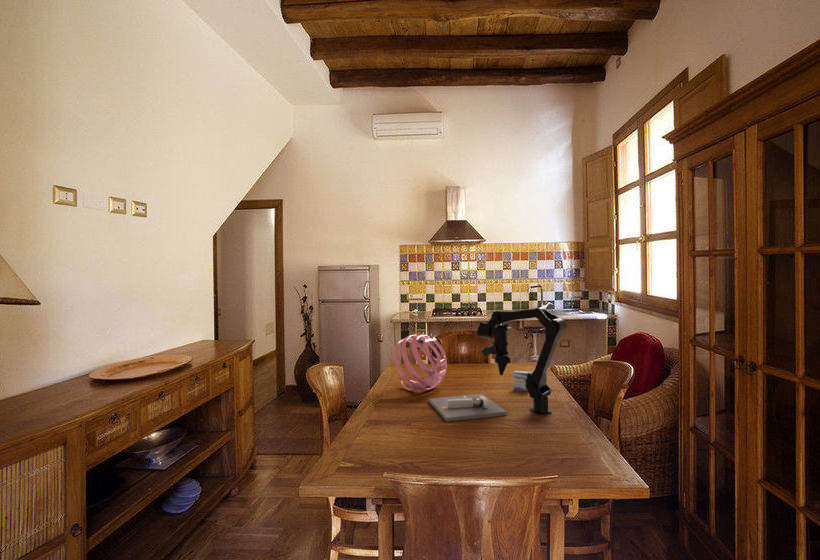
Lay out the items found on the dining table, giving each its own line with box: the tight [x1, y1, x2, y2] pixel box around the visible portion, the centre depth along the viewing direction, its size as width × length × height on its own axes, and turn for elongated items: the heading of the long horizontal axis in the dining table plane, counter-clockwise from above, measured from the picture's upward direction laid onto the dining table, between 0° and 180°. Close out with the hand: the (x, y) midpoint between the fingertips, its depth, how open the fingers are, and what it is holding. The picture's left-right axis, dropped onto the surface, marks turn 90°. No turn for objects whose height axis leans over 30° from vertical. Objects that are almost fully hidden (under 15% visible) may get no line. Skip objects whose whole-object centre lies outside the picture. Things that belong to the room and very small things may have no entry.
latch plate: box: [428, 393, 507, 422], centre depth 179 cm, size 25×25×2 cm
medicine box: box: [512, 370, 530, 392], centre depth 204 cm, size 8×4×9 cm, turn 62°
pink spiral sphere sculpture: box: [393, 333, 448, 392], centre depth 209 cm, size 28×28×27 cm
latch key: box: [447, 395, 488, 408], centre depth 176 cm, size 16×7×3 cm, turn 96°
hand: (501, 375), depth 185 cm, fingers closed
